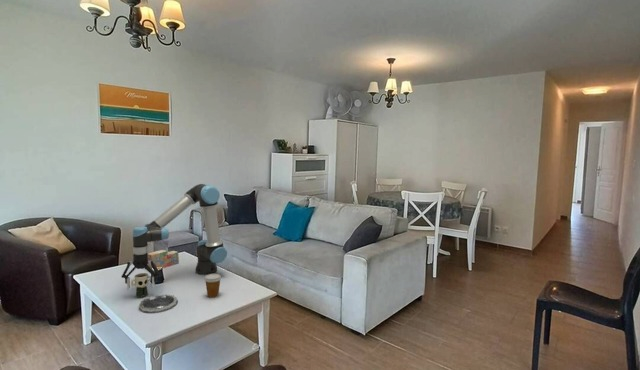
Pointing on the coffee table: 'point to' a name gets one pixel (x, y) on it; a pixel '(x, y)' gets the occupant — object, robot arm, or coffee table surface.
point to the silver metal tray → (158, 303)
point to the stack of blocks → (163, 258)
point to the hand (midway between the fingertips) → (141, 287)
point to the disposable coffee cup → (212, 284)
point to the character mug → (141, 284)
